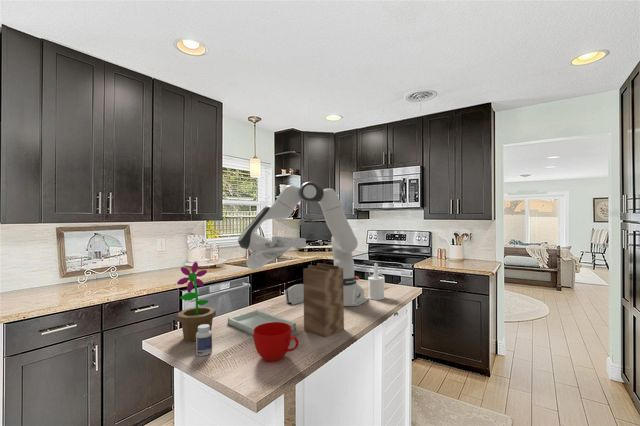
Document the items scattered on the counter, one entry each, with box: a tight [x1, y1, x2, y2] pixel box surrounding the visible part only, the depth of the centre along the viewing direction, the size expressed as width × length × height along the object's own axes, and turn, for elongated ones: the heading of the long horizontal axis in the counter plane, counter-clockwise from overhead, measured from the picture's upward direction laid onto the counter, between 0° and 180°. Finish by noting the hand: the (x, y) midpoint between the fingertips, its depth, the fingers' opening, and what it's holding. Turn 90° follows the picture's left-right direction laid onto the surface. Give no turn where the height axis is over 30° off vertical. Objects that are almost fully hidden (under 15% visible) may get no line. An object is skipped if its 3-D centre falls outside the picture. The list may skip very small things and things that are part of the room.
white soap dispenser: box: [367, 262, 386, 301], centre depth 181 cm, size 10×9×20 cm
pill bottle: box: [195, 324, 213, 357], centre depth 112 cm, size 5×5×10 cm
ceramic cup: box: [253, 322, 300, 363], centre depth 107 cm, size 13×17×10 cm
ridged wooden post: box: [302, 262, 345, 338], centre depth 133 cm, size 12×12×27 cm
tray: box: [227, 309, 297, 337], centre depth 138 cm, size 16×28×3 cm, turn 47°
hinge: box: [284, 283, 304, 306], centre depth 178 cm, size 17×5×10 cm, turn 135°
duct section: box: [271, 235, 307, 249], centre depth 149 cm, size 4×20×4 cm, turn 46°
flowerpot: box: [176, 261, 217, 343], centre depth 127 cm, size 14×14×30 cm
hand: (281, 240), depth 152 cm, fingers closed on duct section, 4 cm apart
